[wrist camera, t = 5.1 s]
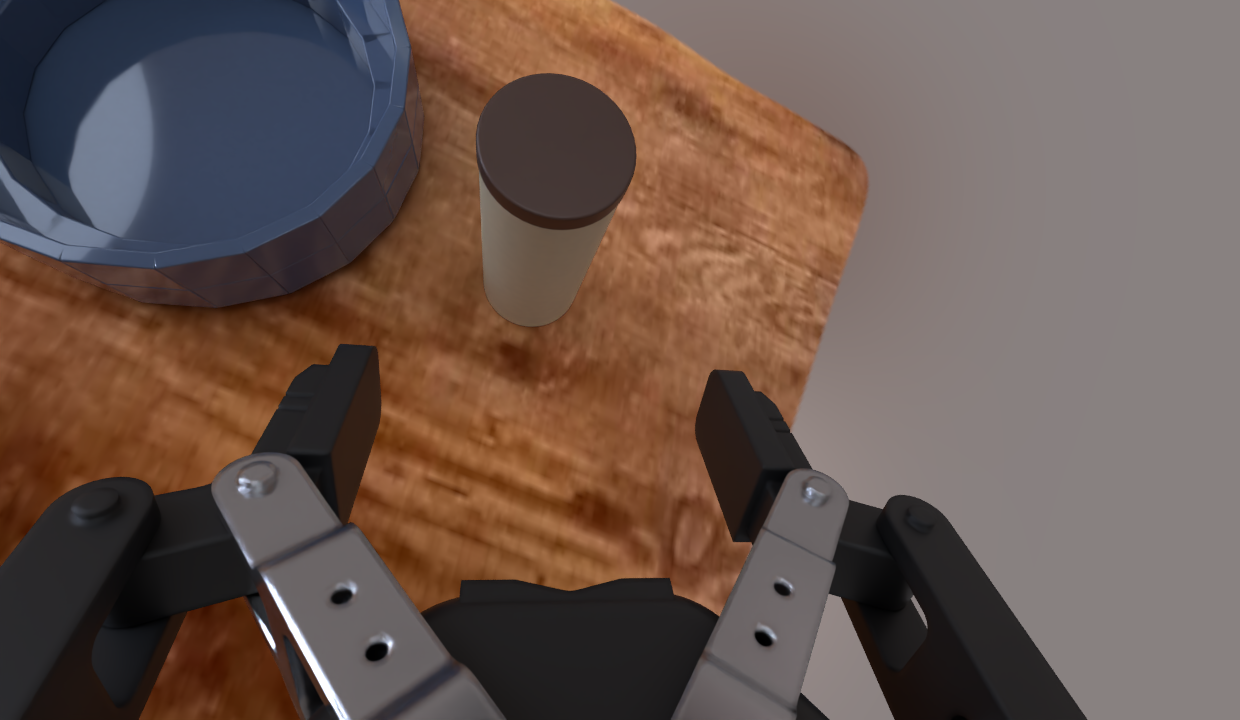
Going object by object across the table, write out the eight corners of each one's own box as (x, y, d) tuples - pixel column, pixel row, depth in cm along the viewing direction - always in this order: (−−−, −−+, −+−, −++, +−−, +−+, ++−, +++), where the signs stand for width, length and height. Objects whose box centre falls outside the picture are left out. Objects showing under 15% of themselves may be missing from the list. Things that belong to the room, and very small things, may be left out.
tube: (479, 324, 27) (469, 209, 15) (485, 233, 28) (482, 59, 16) (575, 331, 28) (636, 228, 16) (579, 243, 29) (638, 85, 17)
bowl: (-59, 292, 22) (-228, 237, 17) (40, -73, 26) (-75, -213, 21) (406, 326, 26) (385, 288, 21) (438, -1, 29) (427, -104, 24)
